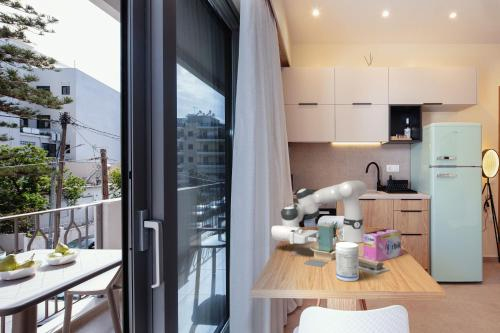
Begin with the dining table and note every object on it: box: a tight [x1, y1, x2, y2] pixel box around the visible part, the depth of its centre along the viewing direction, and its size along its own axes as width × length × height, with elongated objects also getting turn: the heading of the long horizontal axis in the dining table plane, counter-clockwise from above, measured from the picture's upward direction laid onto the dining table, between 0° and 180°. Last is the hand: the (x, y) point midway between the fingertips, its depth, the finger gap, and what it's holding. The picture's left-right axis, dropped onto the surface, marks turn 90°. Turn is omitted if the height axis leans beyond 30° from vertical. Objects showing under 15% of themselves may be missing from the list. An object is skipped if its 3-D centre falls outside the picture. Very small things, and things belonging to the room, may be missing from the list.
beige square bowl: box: [309, 244, 336, 261], centre depth 170 cm, size 15×15×5 cm
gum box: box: [362, 227, 403, 262], centre depth 171 cm, size 24×8×14 cm, turn 124°
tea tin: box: [317, 222, 334, 253], centre depth 170 cm, size 6×5×17 cm
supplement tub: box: [335, 241, 360, 282], centre depth 139 cm, size 10×10×15 cm
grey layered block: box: [359, 255, 390, 276], centre depth 153 cm, size 18×5×10 cm
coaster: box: [303, 258, 329, 268], centre depth 159 cm, size 9×9×1 cm
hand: (320, 238), depth 171 cm, fingers open, 8 cm apart
